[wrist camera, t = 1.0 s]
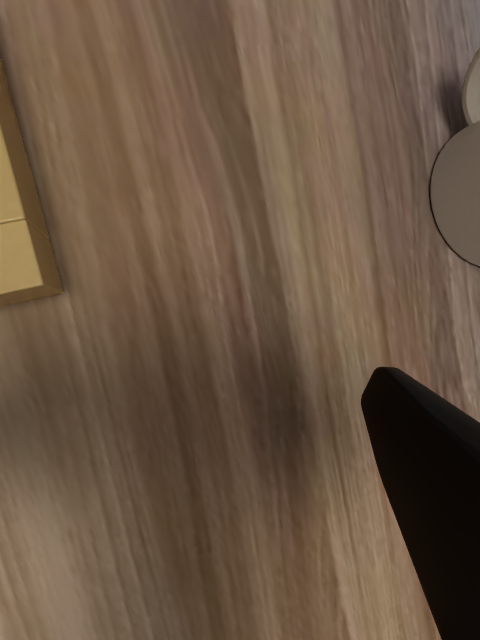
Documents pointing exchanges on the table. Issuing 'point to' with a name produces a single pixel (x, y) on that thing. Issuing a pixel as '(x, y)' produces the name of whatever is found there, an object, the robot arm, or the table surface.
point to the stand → (21, 218)
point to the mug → (461, 176)
